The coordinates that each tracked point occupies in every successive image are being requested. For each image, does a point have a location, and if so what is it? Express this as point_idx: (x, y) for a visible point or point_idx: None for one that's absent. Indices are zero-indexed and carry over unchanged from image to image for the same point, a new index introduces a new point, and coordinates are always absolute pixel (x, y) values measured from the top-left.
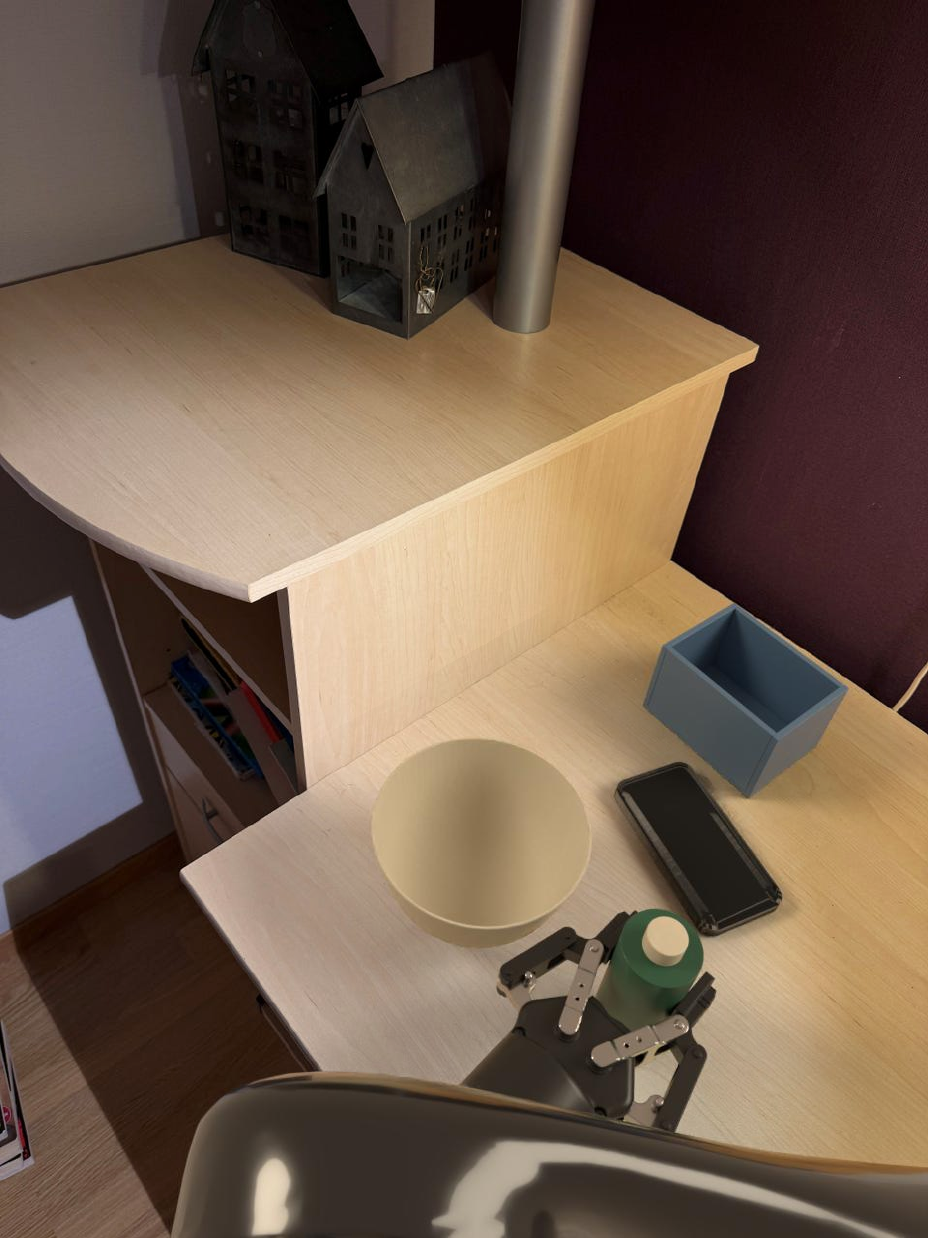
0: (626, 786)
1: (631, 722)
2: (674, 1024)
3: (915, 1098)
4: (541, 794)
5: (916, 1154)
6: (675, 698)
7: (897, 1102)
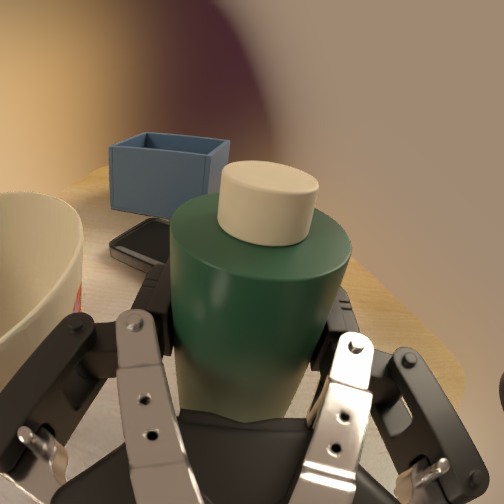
0: (116, 243)
1: (106, 218)
2: (351, 350)
3: (415, 317)
4: (30, 238)
5: (439, 341)
6: (129, 182)
7: (413, 325)
